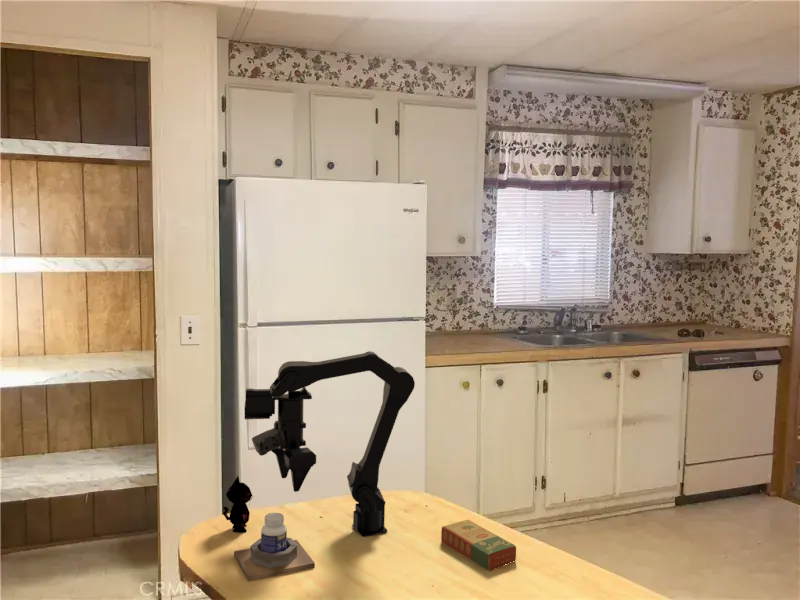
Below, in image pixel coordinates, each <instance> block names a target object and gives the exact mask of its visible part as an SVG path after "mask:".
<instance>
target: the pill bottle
mask: <svg viewBox="0 0 800 600" xmlns="http://www.w3.org/2000/svg"><path fill="white" fill-rule="evenodd" d="M284 521H285V516H284V514H283V513H280V512H270V513H267V514H265V515H264V521H263V522H264V525H262V527H261V532H260V533H261V534H260V538H261V552H266V553H277V552H282V551H285V550H286V539H287V538H288V537H287V536H288V535H287V534H288V533H287V532H288V531H287V526H286V524H284Z"/></svg>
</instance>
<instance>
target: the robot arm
mask: <svg viewBox="0 0 800 600" xmlns="http://www.w3.org/2000/svg"><path fill="white" fill-rule="evenodd" d="M364 372H371V373H372V374H375V375H376V376H377V377H378V378H379V379H380V380H382V381H383V382H384V384H383V394H382V403H381V406H380V409H379V412H378V415H377V417H376V420H375V423H374V425H373V429H372V431H371V434H370V437H369V439H368V442H367V445H366V448H365V451H364V453H363V457H362V458H361V460H360V461H359V462H358V463H356V462H354V461H352V463H351V466H350V471H349V474H348V475H346V478H347V483H348V488H349V491H350V493H351V497H352V499H353V500H354V501H355V504H354V505H355V506H354V507H355V510H354V511H353V512H352V514H353V517H352V518H353V522H352V525H351V526H352V527H351V528H353V529H354V531H356V532H357V533H358V534H359V535H360V536H361V537H370V536H374V535H379V534H385V533H388V529H387V528H386V527H385V515H386V514H385V510H386V506H385V505H386V500H385V499H384V496H383V494H382V492H381V489H380V488H379V487H378V484H379V475H380V474H379V473H380V465H381V462H382V459H383V457H384V454H385V451H386V449H387V446H388V443H389V440H390V438H391V435H392V431H393V429H394V426H395V424H396V421H397V417H398V415H399V412H400V410H401V409H402V407H404V405H405V404H406V403H407V402H408V400H409V398H410V397H411V395H412V392H413V391H414V389H415V387H416V386H415V384H416V383H415V379H414V377H413V376H412V374H410V372H409V371H407V370H406V369H405V368H403V367H401V366H396V367H395V366H393V365H392V364H390V363H389V362H388V361H386V360H385V359H383V358H381V357H380V356H379V355H377V353H375V352H374V351H366V352H364V353H360V354H358V353H357V354H353V355H347V356H342V357H337V358H332V359H331V358H330V359H327V360H326V359H325V360H321V361H308V360H307V361H306V360H305V361H304V360H298V361H297V360H294V361H293V360H291V361H286V362H284V363H282V364H281V366H280V367H279V369H278V372H277V377H276V378H275V379H274V381H273V382H272V383H271V385H270V387H269V388H265V389H264V388H259V389H257V388H246V389H245V400H244V420H270V419H271V417H273V415H276V414H275V413H276V401H277V420H275V421H274V423H273V428H270V429H267V430H266V431H263V432H262V433H261V432H260V433H259V434H257V435H254V436H253V437H252V438H251V441H252V444H253V447H254V449H255V452H257V453H258V455H259V456H265V455H267V454H268V453H269V452H271V453H273V454H274V455H275V458H276V461H277V464H278V468H279V473H280V477H281V478H282V479H287V477H288V474H289V473H290V475H291V482H292V484H291V485H292V488H293V492H295V493H296V492H299V491H300V489H301V487H302V485H303V483H304V481H305V479H306V478H307V476H308V473H309V472H310V470H311V468H312V467H314V466H315V465H316V464H317V454H315V453H314V452H313V451H312V450H311V449H310V448H309V447H305V446H307V443H306V440H305V439H304V429H306V428H307V423H306V422H305V421H304V400H312V399H313V396H312V393H311V392H309V391H308V389H307V387H309V386H311V385H313V384H314V383H316V382H319V381H321V380H323V381H324V380H327V379H333V378H339V377H342V376H349V375H353V374H358V373H364ZM303 446H304V447H303ZM289 471H290V472H289Z"/></svg>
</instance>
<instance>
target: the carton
mask: <svg viewBox="0 0 800 600" xmlns="http://www.w3.org/2000/svg"><path fill="white" fill-rule="evenodd" d="M440 535H441V537H440V539H441V543H442V544H443V545H444V546H446V547H448V548H449V549H451V550H452V551H454V552H456V553H458V554H459V555H461V556H462V557H464V558H466V559H467V560H468V561H470V562H472V563H473V564H475V565H476V566H478V567H479V568H480V569H482V570H484V571H486V572H491V571H494V570H496V569H495V568H497V569H499V568H498V567H500V568H502V567H504V566H503V565H505V564H508V563H510V562H513V561H515V560H516V558H517V546H516V545H515V544H514V543H512V542H510V541H508V540H506V539H504V537H500V536H499V535H497V534H495V533H494V532H491V531H490V530H488V529H486V528H484V527H482V526H481V525H479V524H477V523H476V522H474V521H472V520H470V519H466V520H465V519H464V520H461V521H456V522H454V523H450V524H446V525H443V526H441V533H440ZM516 561H517V560H516ZM516 561H515V562H516ZM513 563H514V562H513ZM508 565H509V564H508ZM501 566H502V567H501ZM505 566H506V565H505ZM493 569H494V570H493Z"/></svg>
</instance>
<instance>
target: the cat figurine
mask: <svg viewBox="0 0 800 600" xmlns="http://www.w3.org/2000/svg"><path fill="white" fill-rule="evenodd" d="M225 495H226V497H227V499H228V501H229V502H231V504H232V506H231V509H230V510H229V507H227V506H223V510H224V511H223V514H222V515H223V516H224V518H225V519H226V520H227V521H230V523H231V524H232V532H233V533H237V534H245V533H247V529H246V527H247V523H248V522H249V521H250V510H249V508H248V506H250V505H251V503H249V504H247V503H248V502H251V500H252V499H253V494H252V491H251V489H250V487H249V486H248V485H247V484H246V483H244V482H242V481H240V477H239V475H237V476H236V478H235V479H234V481H233V482H232V484H231V485H230V487H229V488H228V489H227V491H226V493H225ZM229 511H230V512H229ZM228 513H229V515H228Z"/></svg>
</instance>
